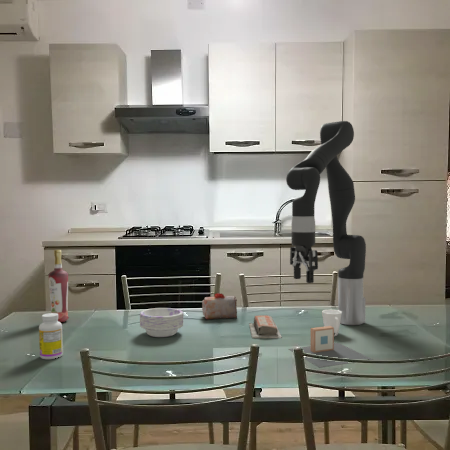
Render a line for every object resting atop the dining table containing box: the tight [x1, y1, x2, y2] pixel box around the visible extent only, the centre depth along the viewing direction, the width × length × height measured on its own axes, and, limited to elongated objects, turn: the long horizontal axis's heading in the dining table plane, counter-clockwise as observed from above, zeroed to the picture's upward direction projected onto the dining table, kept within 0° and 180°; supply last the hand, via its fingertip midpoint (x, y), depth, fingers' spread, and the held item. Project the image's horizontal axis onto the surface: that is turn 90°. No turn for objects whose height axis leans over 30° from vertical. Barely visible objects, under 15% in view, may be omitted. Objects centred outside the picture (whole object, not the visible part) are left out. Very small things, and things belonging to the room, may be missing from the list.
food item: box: [201, 292, 238, 320], centre depth 198 cm, size 14×8×10 cm, turn 97°
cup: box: [321, 308, 342, 337], centre depth 170 cm, size 7×10×8 cm
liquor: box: [48, 249, 70, 324], centre depth 192 cm, size 7×7×28 cm
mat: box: [288, 342, 374, 369], centre depth 149 cm, size 18×18×1 cm
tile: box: [310, 326, 335, 352], centre depth 152 cm, size 7×2×7 cm, turn 111°
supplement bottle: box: [38, 312, 64, 360], centre depth 150 cm, size 7×7×13 cm
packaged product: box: [248, 314, 283, 339], centre depth 175 cm, size 18×5×10 cm
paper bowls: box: [139, 307, 184, 338], centre depth 174 cm, size 15×15×8 cm
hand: (303, 280), depth 159 cm, fingers open, 8 cm apart
